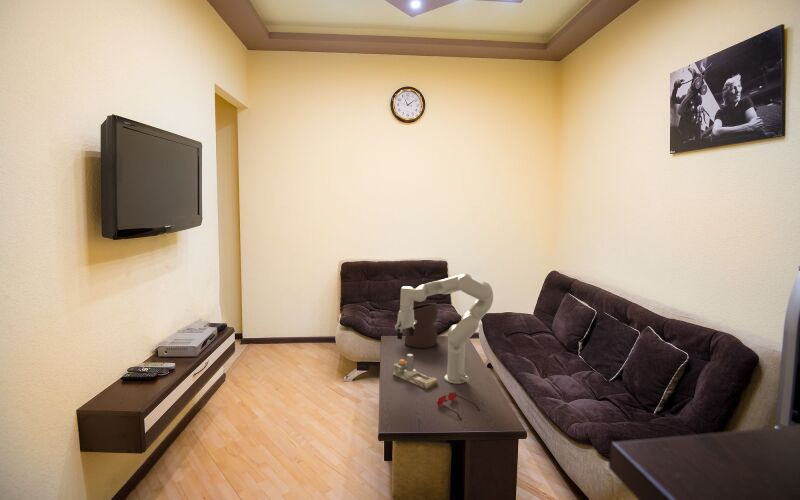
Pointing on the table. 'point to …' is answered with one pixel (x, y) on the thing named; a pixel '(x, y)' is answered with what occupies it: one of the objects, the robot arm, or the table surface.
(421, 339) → the vase
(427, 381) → the board
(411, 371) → the carriage
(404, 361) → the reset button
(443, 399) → the glasses
